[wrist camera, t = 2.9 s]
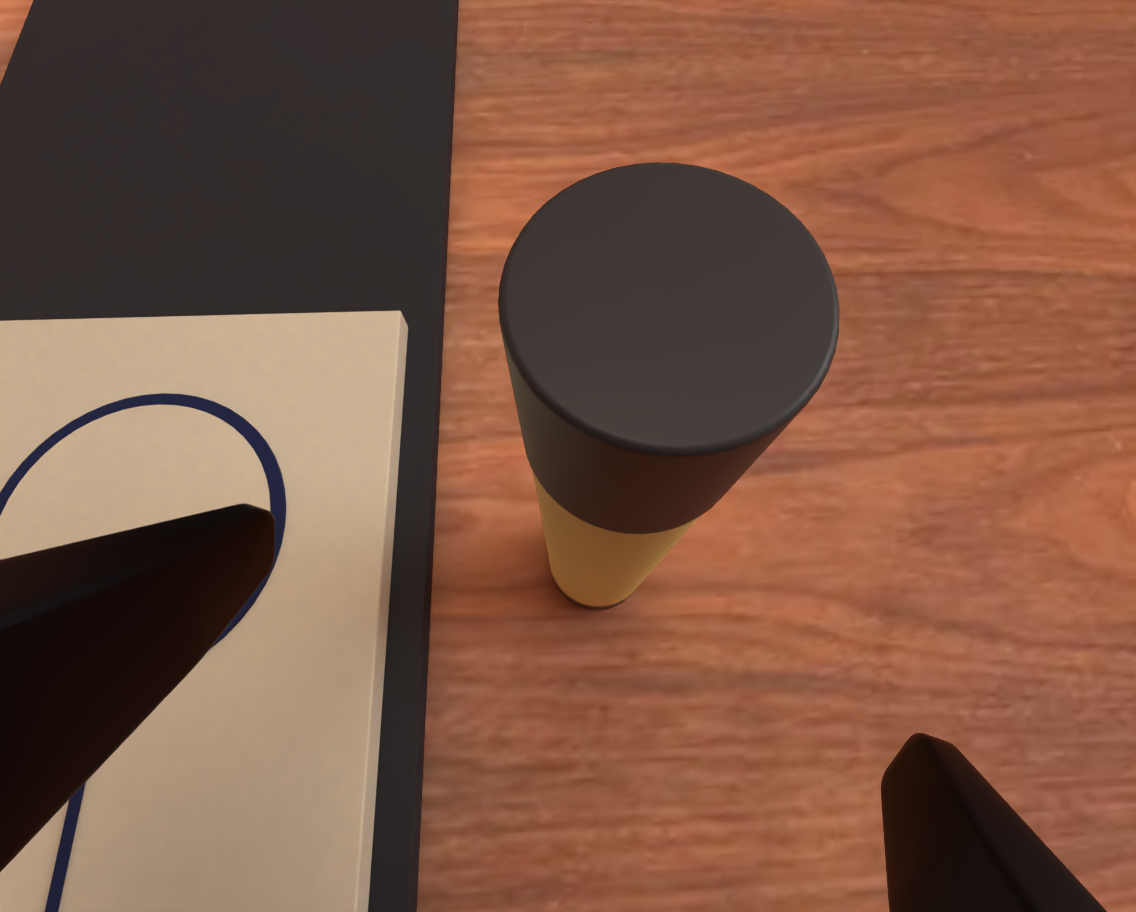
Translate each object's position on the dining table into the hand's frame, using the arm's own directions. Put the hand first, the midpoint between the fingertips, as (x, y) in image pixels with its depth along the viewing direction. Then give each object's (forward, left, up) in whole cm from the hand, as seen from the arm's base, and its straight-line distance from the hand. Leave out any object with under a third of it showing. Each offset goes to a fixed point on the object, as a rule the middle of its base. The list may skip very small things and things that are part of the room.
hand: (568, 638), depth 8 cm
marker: (+3, -1, -10) cm, 10 cm away
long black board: (+25, +13, -10) cm, 30 cm away
